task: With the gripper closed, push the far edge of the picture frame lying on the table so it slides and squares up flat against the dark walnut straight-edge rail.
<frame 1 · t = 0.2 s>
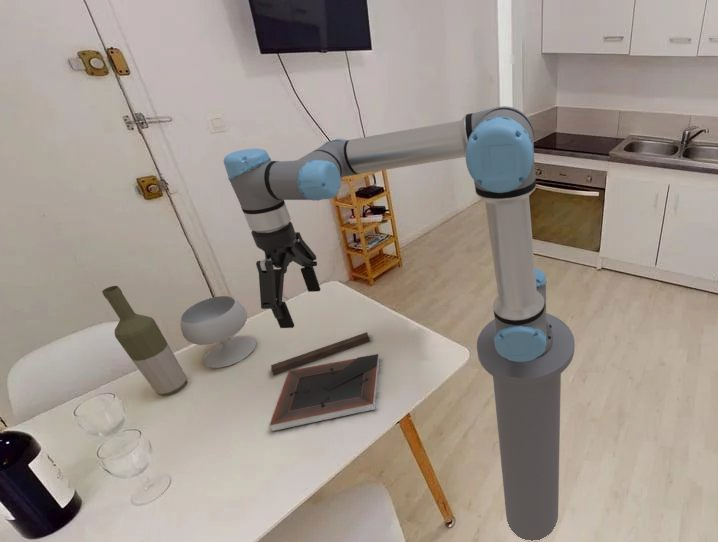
hand: (301, 307, 95), 21 cm above the table, tool pointing down, fingers open, 13 cm apart
bottle: (173, 388, 102), on the table
walnut rail: (323, 355, 110), on the table
picture frame: (331, 393, 99), on the table
chalice: (231, 353, 112), on the table
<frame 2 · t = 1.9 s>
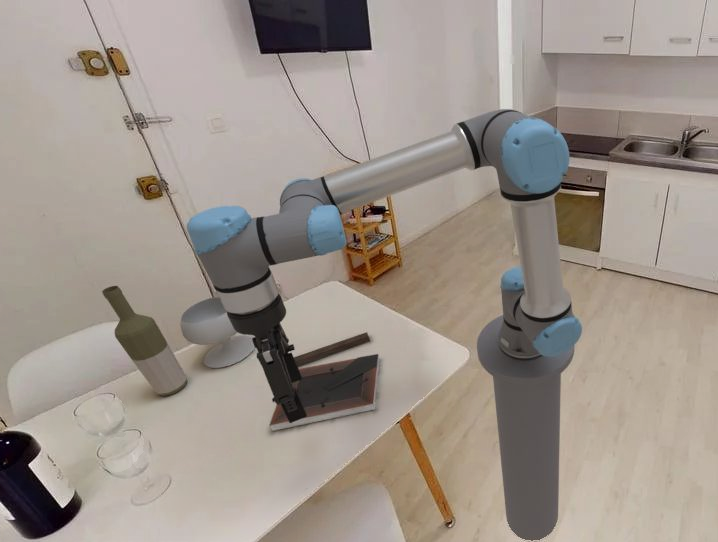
hand: (296, 398, 76), 18 cm above the table, tool pointing down, fingers open, 9 cm apart
nothing on the table moved.
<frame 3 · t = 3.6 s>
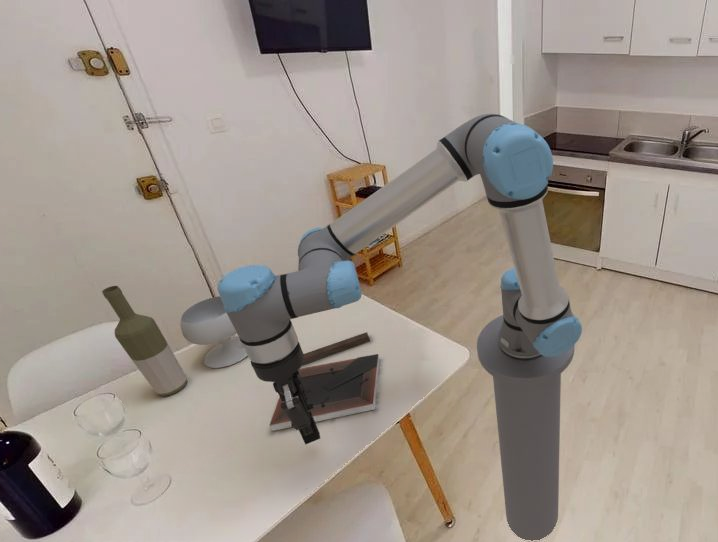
hand: (312, 438, 81), 6 cm above the table, tool pointing down, fingers closed
nothing on the table moved.
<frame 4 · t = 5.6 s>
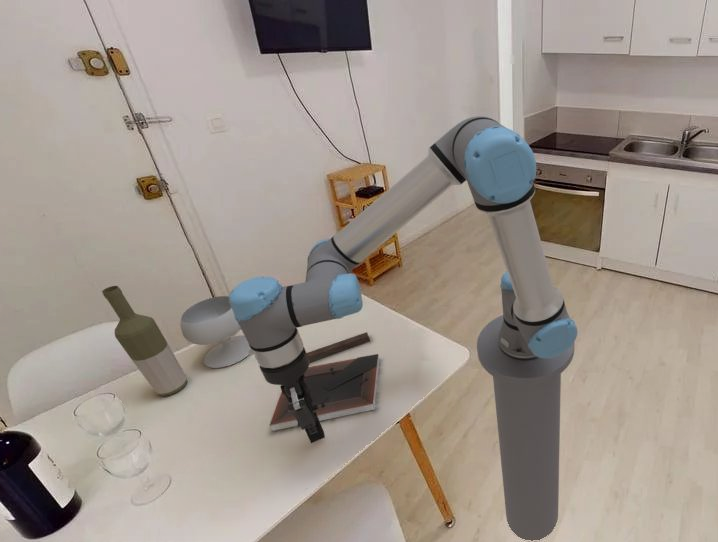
hand: (317, 437, 86), 2 cm above the table, tool pointing down, fingers closed
nothing on the table moved.
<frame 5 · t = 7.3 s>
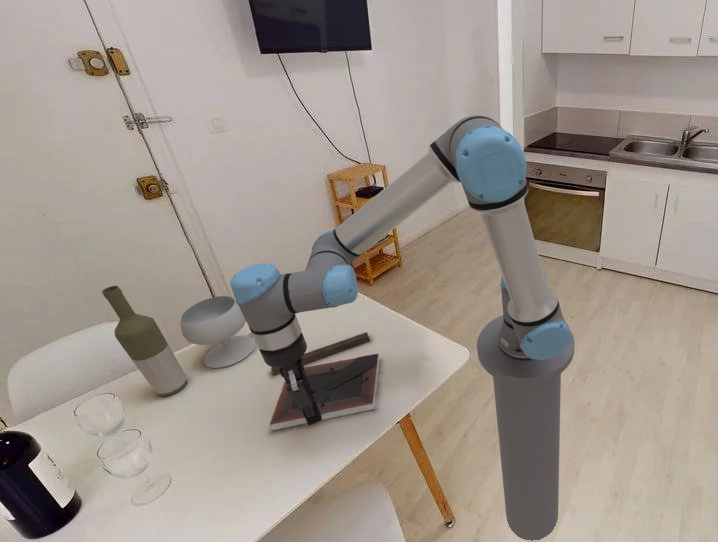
hand: (315, 420, 90), 2 cm above the table, tool pointing down, fingers closed
picture frame: (331, 393, 99), on the table, touching gripper
everything else where it was.
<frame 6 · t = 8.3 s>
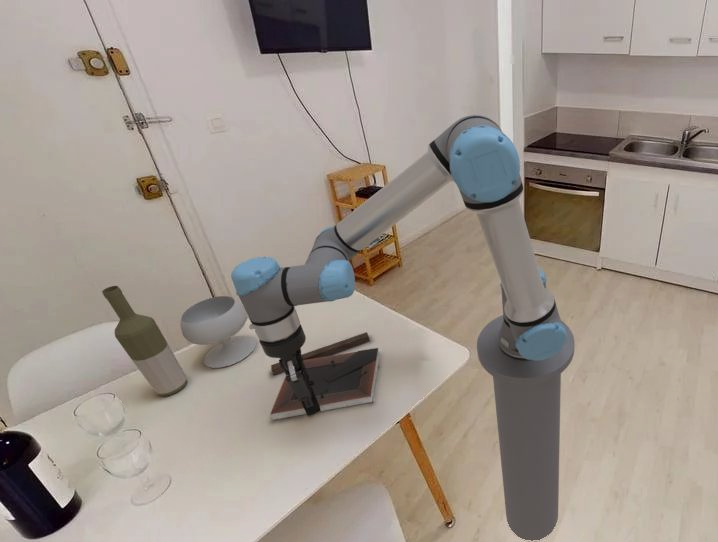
hand: (313, 411, 92), 2 cm above the table, tool pointing down, fingers closed
picture frame: (331, 385, 101), on the table, touching gripper, walnut rail
everything else where it was.
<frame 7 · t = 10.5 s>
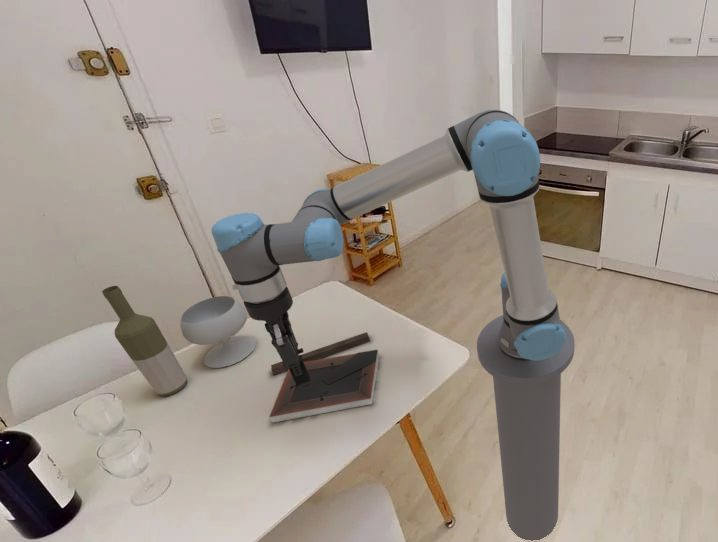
hand: (303, 381, 89), 11 cm above the table, tool pointing down, fingers closed
picture frame: (331, 387, 101), on the table
everything else where it was.
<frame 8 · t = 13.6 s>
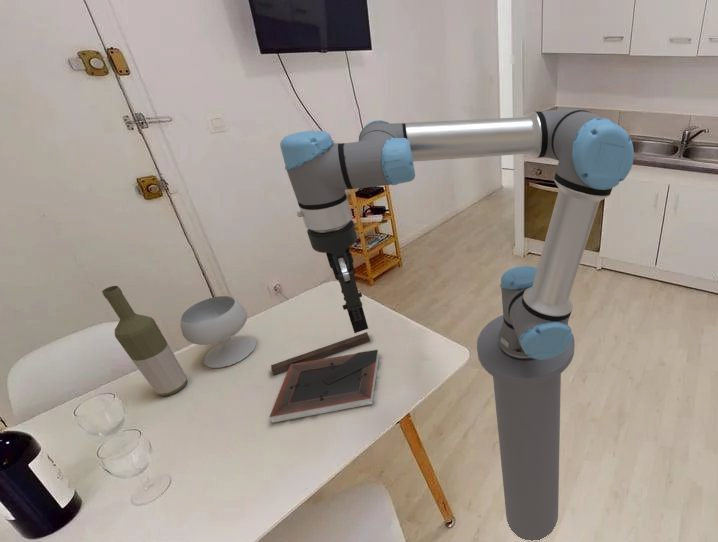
hand: (360, 328, 82), 24 cm above the table, tool pointing down, fingers closed
nothing on the table moved.
at the end: picture frame moved 2.1 cm from its start; picture frame inside the target area (1.6 cm from its centre), on the table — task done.
